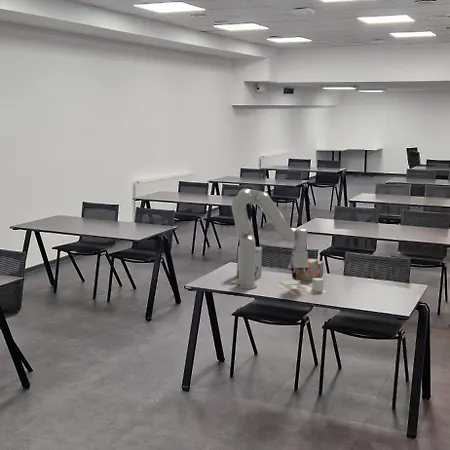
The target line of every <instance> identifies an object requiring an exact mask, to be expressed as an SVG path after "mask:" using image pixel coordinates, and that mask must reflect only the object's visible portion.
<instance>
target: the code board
mask: <svg viewBox="0 0 450 450" xmlns="http://www.w3.org/2000/svg"><path fill="white" fill-rule="evenodd" d="M279 286H280V288H281V289H284V290H285V291H288V293H290V294H291V295H294V296H296V295H297V296H298V295H306V294H307V295H308V294H318V293H319V294H320V293H327V291H326V290H324V289H323V291H319V292H315V291H313V290H312V283H307V284H297V285H282V286H281V285H279Z"/></svg>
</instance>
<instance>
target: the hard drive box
mask: <svg viewBox="0 0 450 450" xmlns="http://www.w3.org/2000/svg"><path fill="white" fill-rule="evenodd" d="M236 256H237V257H236V258H237V259H236V278H239V246H238V247H237V255H236ZM262 262H263V247H262V246H255V274H254V280H255V279H258V280H259V279H261V277H262V265H263V263H262Z"/></svg>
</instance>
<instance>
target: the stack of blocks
mask: <svg viewBox="0 0 450 450" xmlns="http://www.w3.org/2000/svg"><path fill="white" fill-rule="evenodd" d="M308 264H309V265H310V267H309V268H308V269H307V270H306V272H305V275H304V280H303V281H307V282H312V278H321V276H324V261H321V260H319V259H316V258H308Z"/></svg>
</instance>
